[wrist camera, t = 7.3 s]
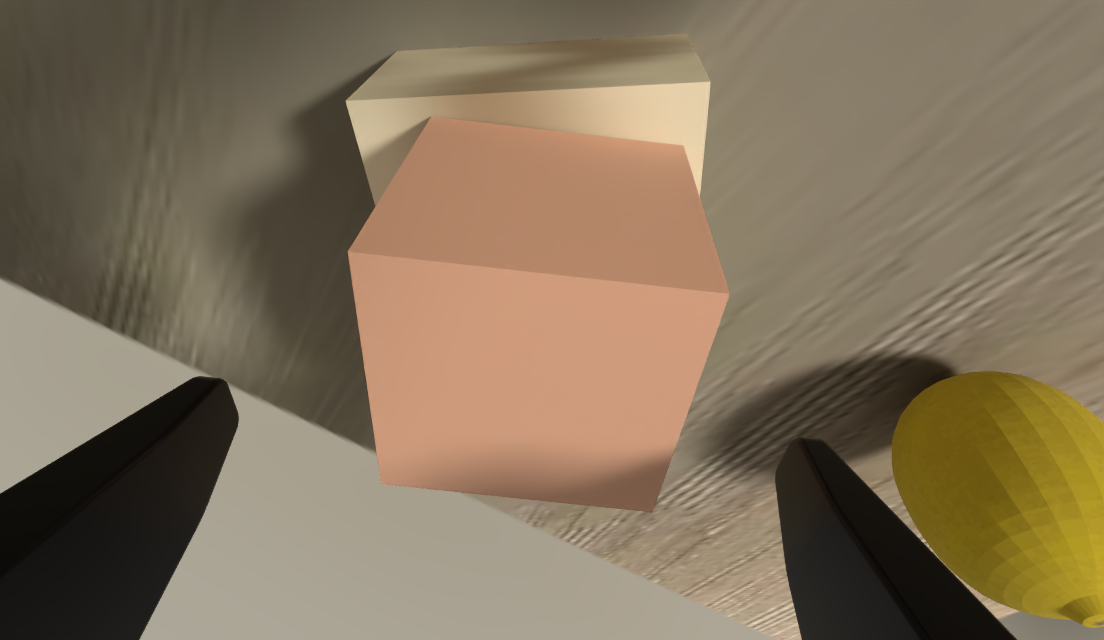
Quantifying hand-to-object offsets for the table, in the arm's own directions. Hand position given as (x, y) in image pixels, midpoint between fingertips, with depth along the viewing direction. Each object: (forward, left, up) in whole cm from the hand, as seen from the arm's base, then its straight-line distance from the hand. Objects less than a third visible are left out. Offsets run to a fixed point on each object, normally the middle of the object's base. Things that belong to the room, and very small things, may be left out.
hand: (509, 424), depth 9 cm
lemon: (-14, +6, -9) cm, 18 cm away
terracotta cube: (0, 0, -5) cm, 5 cm away
